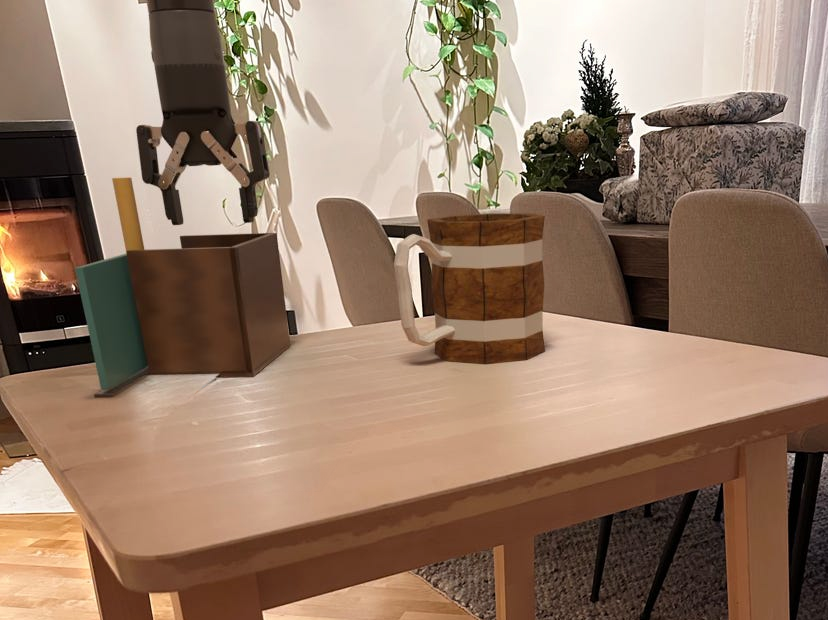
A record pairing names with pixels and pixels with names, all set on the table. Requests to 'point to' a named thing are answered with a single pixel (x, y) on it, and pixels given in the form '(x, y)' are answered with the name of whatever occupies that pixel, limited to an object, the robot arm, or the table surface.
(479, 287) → the mug
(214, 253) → the cubby
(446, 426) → the table surface
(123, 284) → the sliding door
